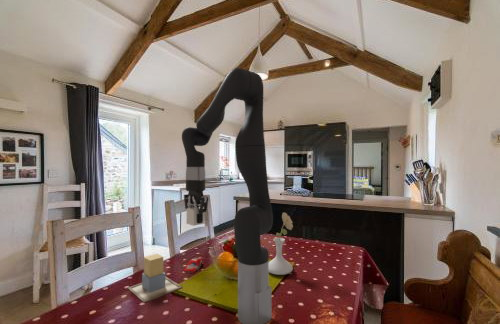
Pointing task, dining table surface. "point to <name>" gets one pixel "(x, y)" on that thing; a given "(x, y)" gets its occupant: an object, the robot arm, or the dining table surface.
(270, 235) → the dining table surface
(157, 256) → the ochre brick
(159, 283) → the base brick
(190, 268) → the race car
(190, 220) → the cream brick
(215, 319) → the dining table surface
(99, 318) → the dining table surface
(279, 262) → the flower in vase
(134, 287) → the build plate
